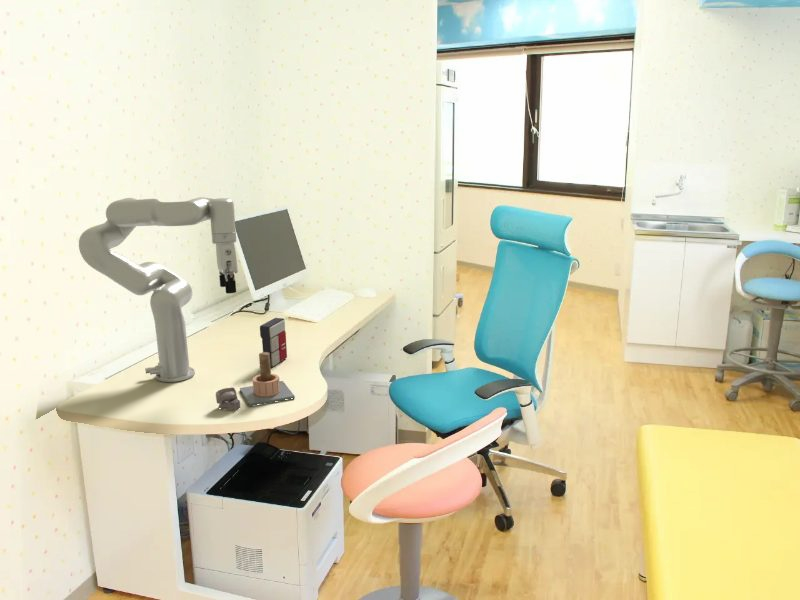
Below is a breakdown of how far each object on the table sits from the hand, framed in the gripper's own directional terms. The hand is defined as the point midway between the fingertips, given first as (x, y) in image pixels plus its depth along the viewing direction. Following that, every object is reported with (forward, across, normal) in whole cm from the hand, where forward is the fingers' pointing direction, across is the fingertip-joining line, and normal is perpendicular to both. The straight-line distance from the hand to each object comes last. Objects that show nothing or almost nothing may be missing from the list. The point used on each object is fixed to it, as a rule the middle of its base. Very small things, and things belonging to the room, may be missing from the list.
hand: (228, 289), depth 230 cm
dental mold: (+31, -24, +7) cm, 39 cm away
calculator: (+31, +8, -16) cm, 35 cm away
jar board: (+30, -20, -6) cm, 37 cm away
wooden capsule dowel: (+29, -20, -6) cm, 35 cm away
